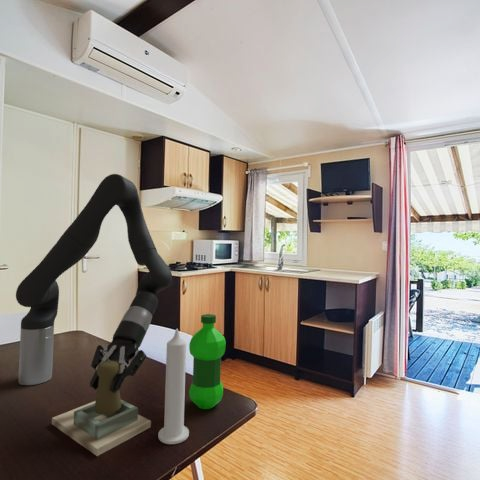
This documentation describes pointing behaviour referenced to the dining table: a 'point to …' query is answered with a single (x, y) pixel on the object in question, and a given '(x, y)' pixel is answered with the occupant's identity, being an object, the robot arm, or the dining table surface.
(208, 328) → the plastic bottle
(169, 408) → the candle
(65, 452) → the dining table surface
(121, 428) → the board
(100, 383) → the cork
